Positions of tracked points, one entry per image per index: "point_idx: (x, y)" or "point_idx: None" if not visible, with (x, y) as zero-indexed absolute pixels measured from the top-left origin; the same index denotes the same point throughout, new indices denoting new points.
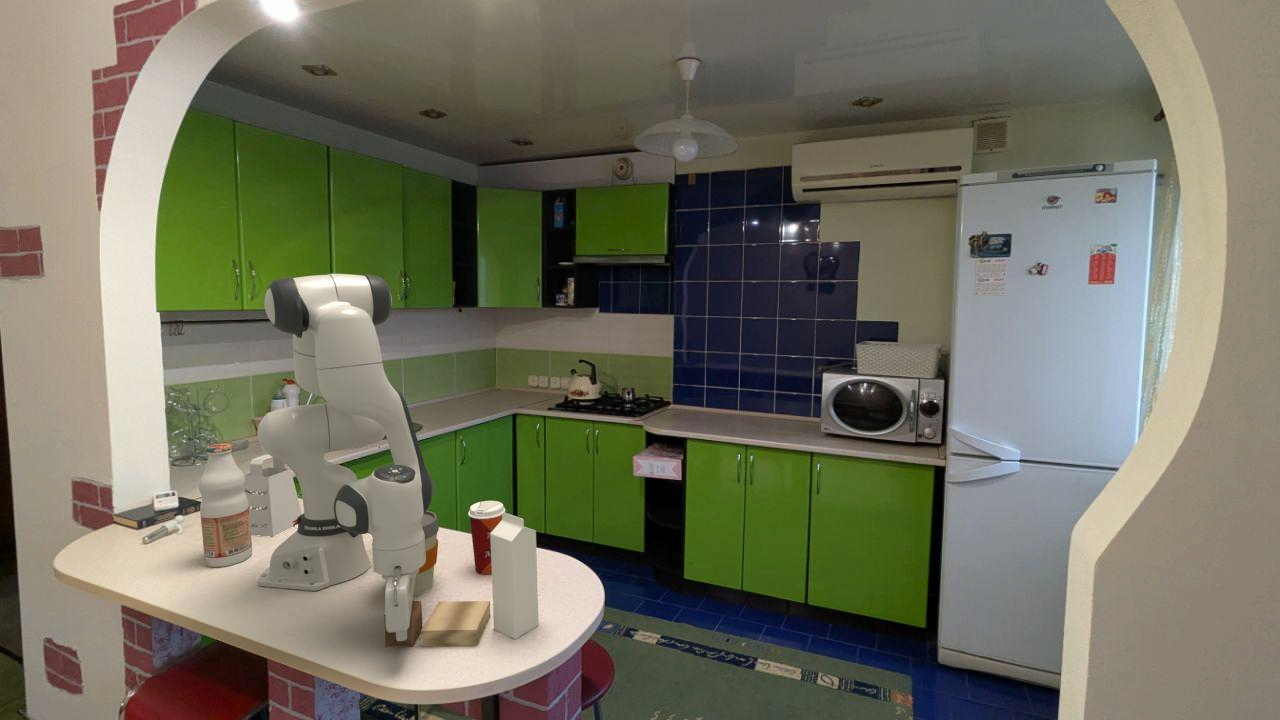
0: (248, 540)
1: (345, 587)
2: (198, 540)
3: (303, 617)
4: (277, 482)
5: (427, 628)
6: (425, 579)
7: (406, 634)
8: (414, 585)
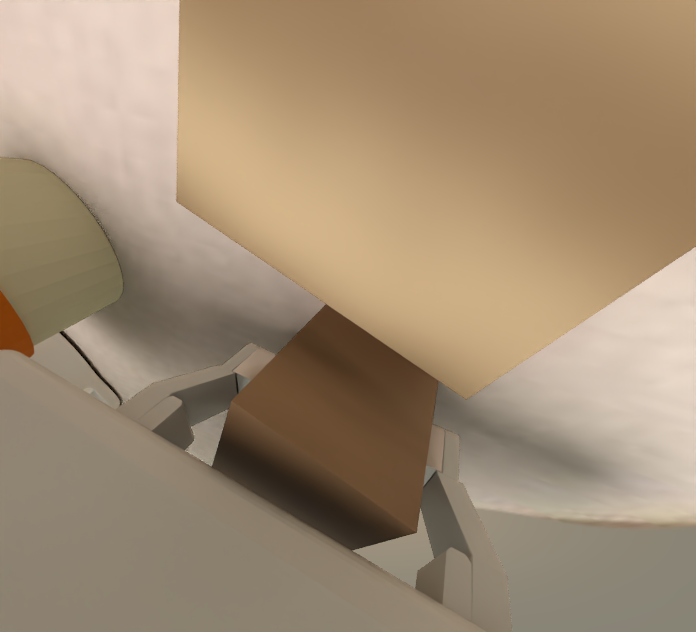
0: None
1: (101, 361)
2: None
3: (196, 441)
4: None
5: (470, 365)
6: (10, 208)
7: (458, 458)
8: (74, 425)
